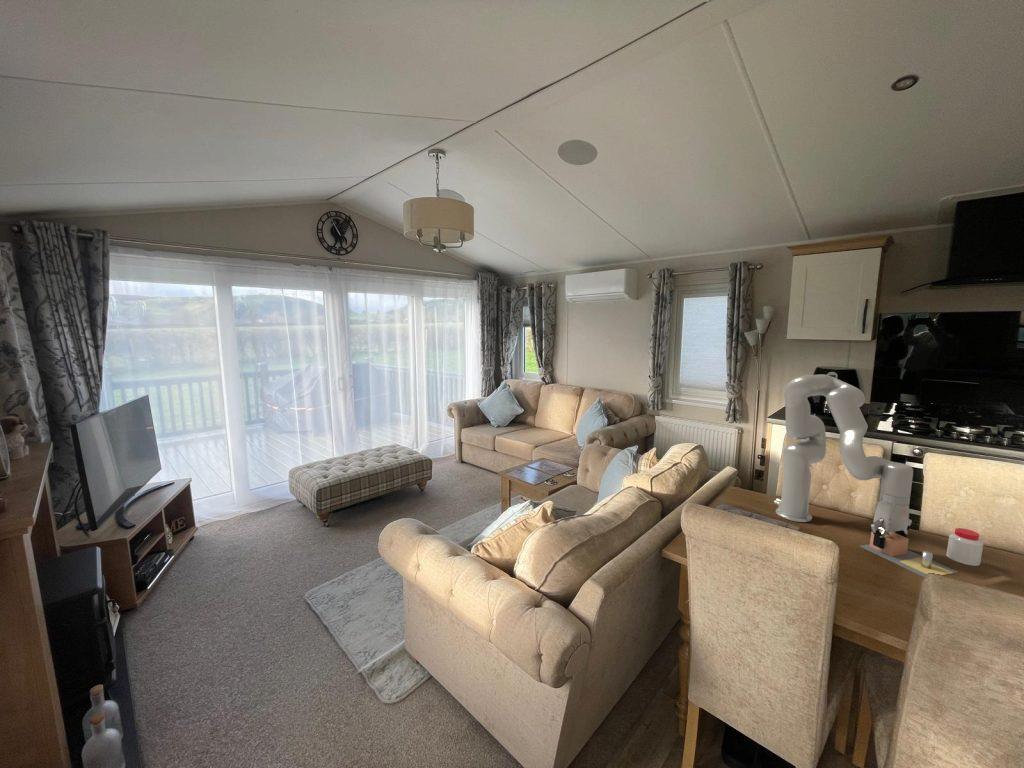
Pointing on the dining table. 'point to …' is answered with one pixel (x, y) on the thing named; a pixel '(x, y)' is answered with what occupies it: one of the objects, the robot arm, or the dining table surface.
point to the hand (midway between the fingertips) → (889, 545)
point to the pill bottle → (965, 547)
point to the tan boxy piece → (892, 544)
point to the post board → (914, 561)
